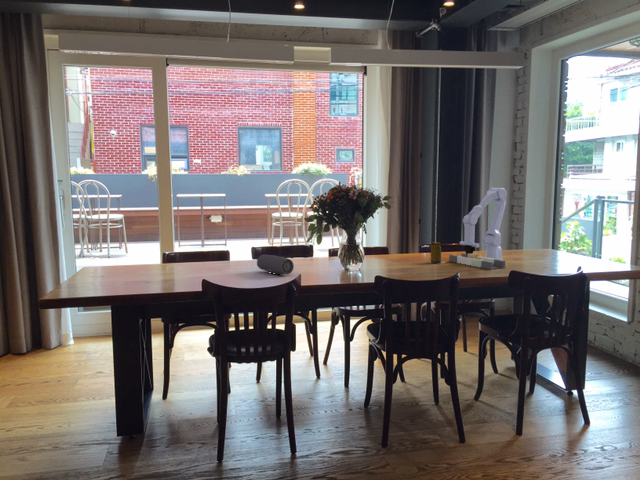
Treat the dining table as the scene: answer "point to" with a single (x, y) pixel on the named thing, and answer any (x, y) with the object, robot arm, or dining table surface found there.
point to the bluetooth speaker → (275, 264)
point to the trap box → (477, 261)
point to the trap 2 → (496, 267)
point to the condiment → (436, 253)
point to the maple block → (474, 256)
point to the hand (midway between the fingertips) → (469, 258)
